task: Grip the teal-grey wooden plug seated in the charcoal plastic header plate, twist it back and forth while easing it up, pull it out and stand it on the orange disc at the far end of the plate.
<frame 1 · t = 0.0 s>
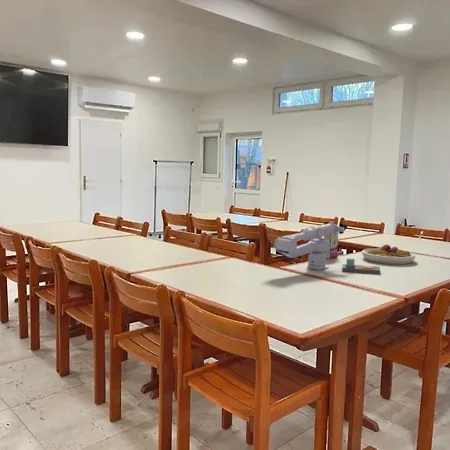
hand: (340, 225, 256), 22 cm above the table, tool horizontal, fingers open, 7 cm apart
plug: (350, 264, 241), in the header
header: (350, 270, 242), on the table
bowl: (387, 260, 272), on the table
orange disc: (367, 267, 239), resting on header
candy bar box: (330, 257, 276), on the table
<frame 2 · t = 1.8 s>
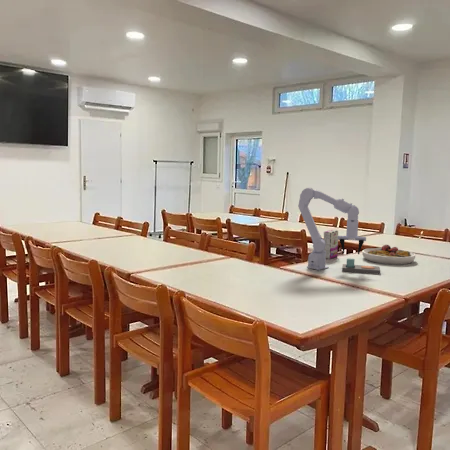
hand: (351, 253, 241), 9 cm above the table, tool pointing down, fingers open, 7 cm apart
nothing on the table moved.
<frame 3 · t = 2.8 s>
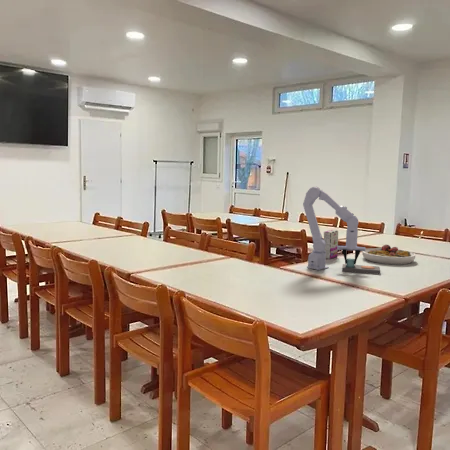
hand: (350, 263, 241), 3 cm above the table, tool pointing down, fingers closed on plug, 4 cm apart
plug: (350, 264, 241), in the header, touching gripper
everything else where it was.
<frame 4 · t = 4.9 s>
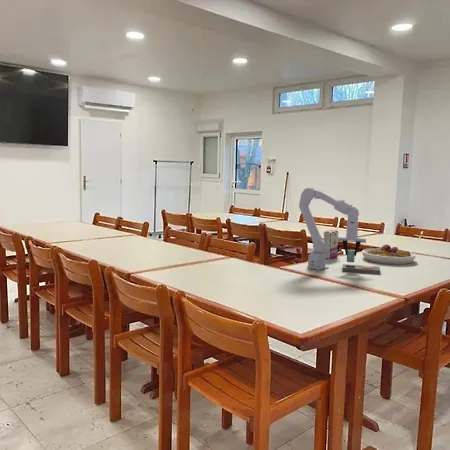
hand: (350, 255, 241), 8 cm above the table, tool pointing down, fingers closed on plug, 4 cm apart
plug: (350, 256, 241), point 8 cm above the table, touching gripper
everything else where it was.
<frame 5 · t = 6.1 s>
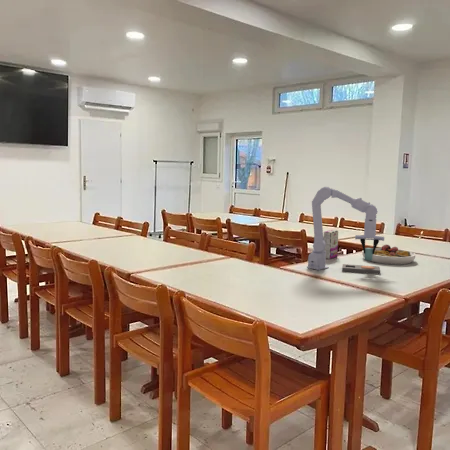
hand: (368, 253, 238), 10 cm above the table, tool pointing down, fingers closed on plug, 4 cm apart
plug: (368, 254, 238), point 9 cm above the table, touching gripper
everything else where it was.
when the fingers open (7 cm above the table, at t = 6.9 s): plug drops 1 cm, resting on orange disc.
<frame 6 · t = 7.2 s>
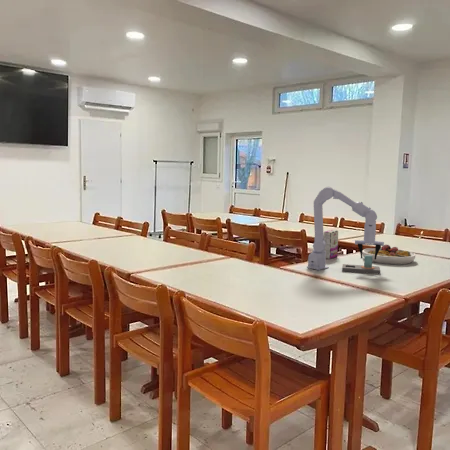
hand: (368, 258, 239), 7 cm above the table, tool pointing down, fingers open, 6 cm apart
plug: (368, 261, 239), point 5 cm above the table, touching orange disc
everything else where it was.
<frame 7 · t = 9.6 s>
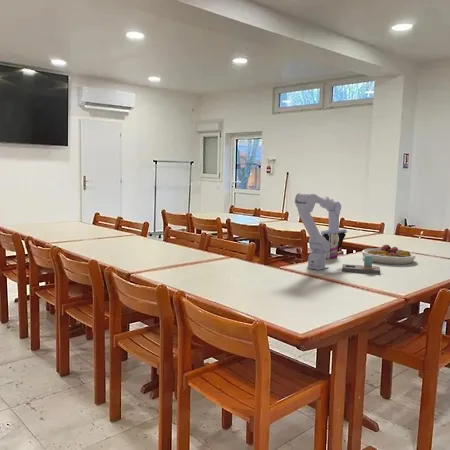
hand: (333, 246, 254), 10 cm above the table, tool pointing down, fingers open, 7 cm apart
nothing on the table moved.
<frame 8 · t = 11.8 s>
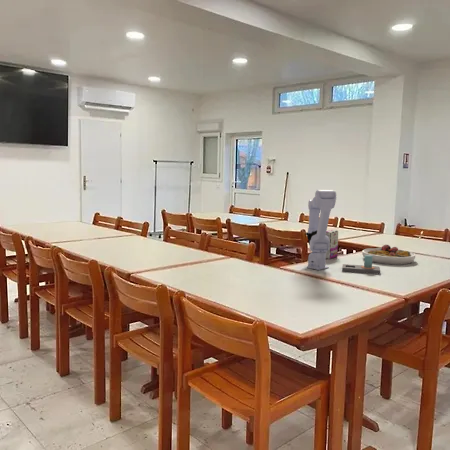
hand: (313, 244, 261), 10 cm above the table, tool pointing down, fingers open, 7 cm apart
nothing on the table moved.
at the end: plug 0.0 cm off-centre on the orange disc, point 3.3 cm above the orange disc's base; plug tilted 0°; the gripper is holding nothing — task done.
